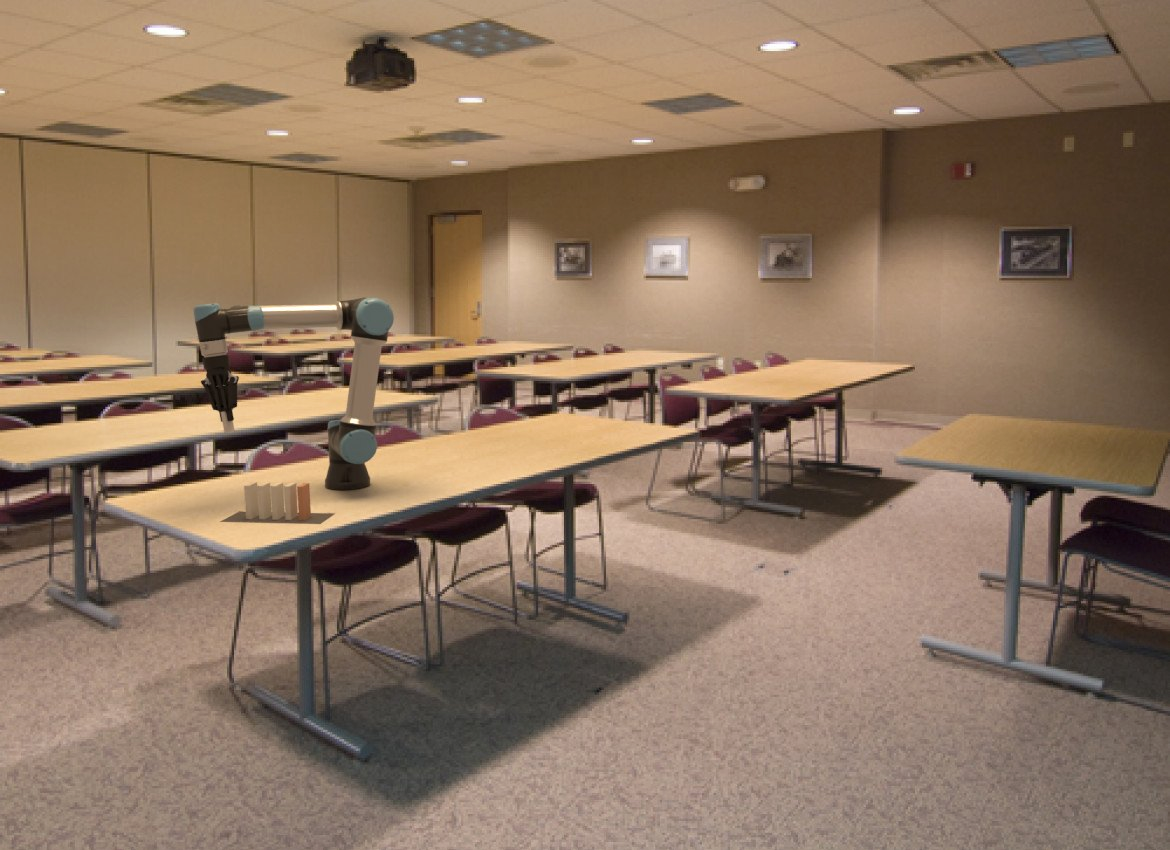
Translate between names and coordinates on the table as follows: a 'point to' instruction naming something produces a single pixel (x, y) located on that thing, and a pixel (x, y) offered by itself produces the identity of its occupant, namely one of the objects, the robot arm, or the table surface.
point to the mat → (313, 519)
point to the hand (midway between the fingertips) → (229, 431)
